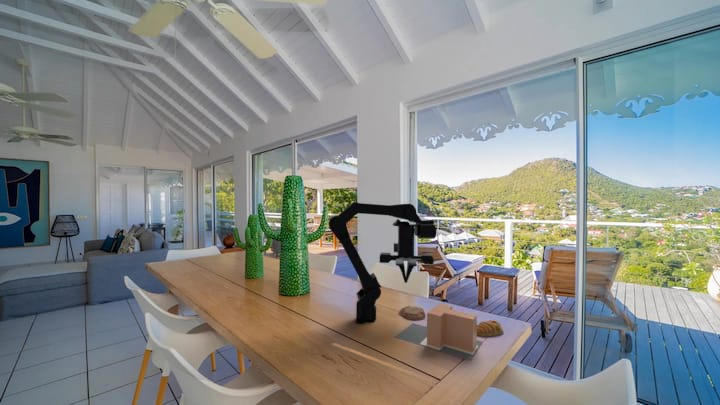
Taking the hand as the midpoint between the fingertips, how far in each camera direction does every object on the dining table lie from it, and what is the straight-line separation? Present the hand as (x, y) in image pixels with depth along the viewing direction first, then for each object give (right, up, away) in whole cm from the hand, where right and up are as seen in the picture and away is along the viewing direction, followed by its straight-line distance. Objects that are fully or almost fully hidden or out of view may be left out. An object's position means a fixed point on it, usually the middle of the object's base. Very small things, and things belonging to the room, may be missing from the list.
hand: (405, 282), depth 104 cm
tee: (+11, -12, -20) cm, 26 cm away
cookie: (+3, -14, +3) cm, 14 cm away
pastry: (+25, -14, -11) cm, 30 cm away
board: (+7, -13, -17) cm, 22 cm away
